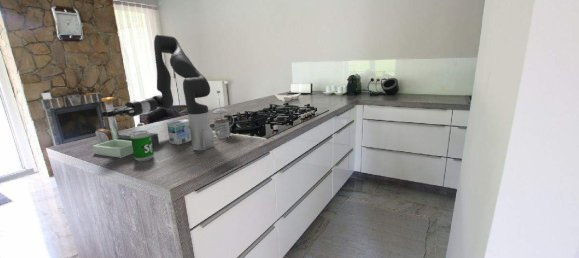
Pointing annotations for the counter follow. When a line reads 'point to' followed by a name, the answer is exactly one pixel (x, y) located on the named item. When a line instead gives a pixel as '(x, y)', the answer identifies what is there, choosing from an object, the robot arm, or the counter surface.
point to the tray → (114, 148)
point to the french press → (218, 122)
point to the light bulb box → (179, 131)
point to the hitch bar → (127, 134)
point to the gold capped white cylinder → (111, 119)
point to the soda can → (142, 145)
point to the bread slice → (103, 135)
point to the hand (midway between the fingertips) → (104, 114)
